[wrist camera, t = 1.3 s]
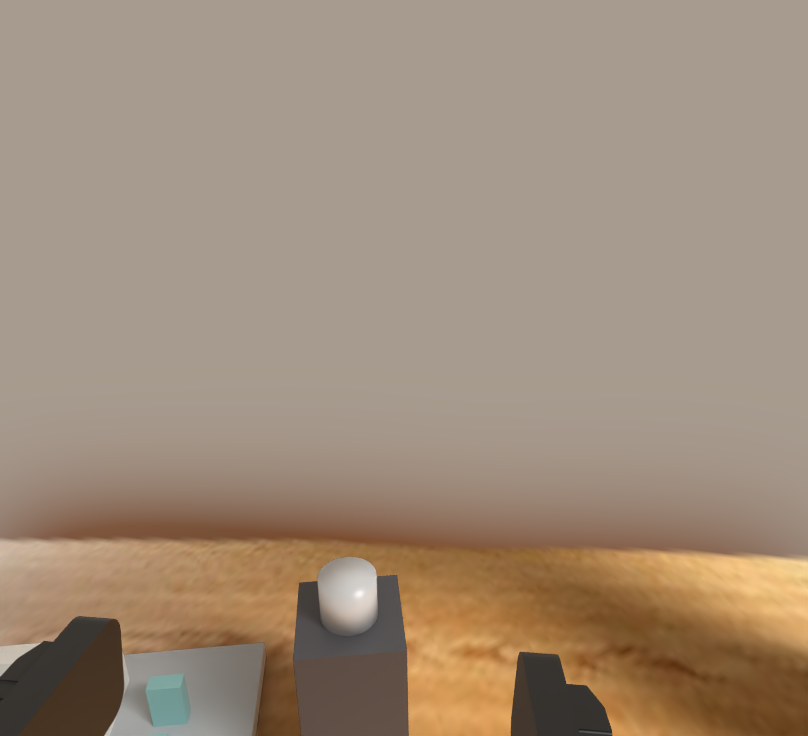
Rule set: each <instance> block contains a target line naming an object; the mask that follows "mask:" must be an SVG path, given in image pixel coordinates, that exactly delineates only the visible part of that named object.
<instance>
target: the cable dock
mask: <svg viewBox="0 0 808 736" xmlns="http://www.w3.org/2000/svg"><path fill="white" fill-rule="evenodd" d="M39 644H40V643H33V644H22V645H10V646H0V676H1V675H2V674H3V673H4V672H5V671H6V670H7V669H8V668H9V667H10V666H11V665H12V663H13V662H14V661H15V660H16V659H17V658H19V657H20V656H22V655H23V654H25V653H26V652H28V651H30V650H31V649H33V648H34V647H36V646H37V645H39ZM122 657H123V671H124V693H123V698H122V702H121V706H120V709H119V711H118V713H117V716H116V718H115V719H114V721H113V723H112V724H111V726H110V727H109V729H108V731H107V732H106V734H105V735H104V736H256V731H257V723H258V715H259V707H260V700H261V692H262V684H263V676H264V668H265V660H266V651H265V644H264V642H263V643H251V644H240V645H228V646H217V647H206V648H194V649H183V650H172V651H160V652H149V653H137V654H126V655H123V650H122Z"/></svg>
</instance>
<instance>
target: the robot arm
mask: <svg viewBox="0 0 808 736" xmlns="http://www.w3.org/2000/svg"><path fill="white" fill-rule="evenodd" d="M123 693H124V671H123V657H122V643H121V630H120V624H119V622H118V621H117V620H116V619H108V618H95V617H83V616H78V617H76V618H74V619H73V620H72V621H71V622H70V623H69V624H68V626H67V627H66V628H65V629H64V630H63V631H62V632H61V634H60V635H59V636H58V637H57V638H56V639H55V640H54V642H49V641H44V642H42V643H40V644H39V645H37V646H36V647H34V648H33V649H31V650H30V651H28V652H26V653H25V654H23V655H22V656H20V657H19V658H17V659H16V660H15V661H14V662H13V663H12V665H11V666H10V667H9V668H8V669H7V670H6V671H5V672H4V673H3V674H2V675H1V676H0V736H104V735H105V734H106V732H107V731H108V729H109V727H110V726H111V724H112V723H113V721H114V719H115V718H116V716H117V713H118V711H119V709H120V706H121V702H122V698H123ZM511 736H612V729H611V726H610V723H609V720H608V717H607V714H606V711H605V708H604V706H603V705H602V704H601V703H600V701H599V700H598V699H597V698H596V697H595V695H594V694H593V693H592V692H591V691H590V689H589V688H588V687H587V686H585V685H572V684H566V681H565V677H564V673H563V669H562V665H561V662H560V658H559V656H558V655H555V654H542V653H529V652H520V653H519V656H518V662H517V671H516V680H515V689H514V698H513V707H512V717H511Z"/></svg>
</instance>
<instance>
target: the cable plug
mask: <svg viewBox="0 0 808 736" xmlns="http://www.w3.org/2000/svg"><path fill="white" fill-rule="evenodd" d="M293 664H294V673H295V682H296V692H297V701H298V710H299V719H300V729H301V736H409V732H408V681H407V647H406V640H405V632H404V625H403V617H402V609H401V602H400V594H399V587H398V579H397V575H390V576H378V577H376V570H375V568H374V566H373V565H372V564H371V563H370V562H368V561H366V560H364V559H361V558H358V557H342V558H338V559H335V560H332V561H330V562H328V563H327V564H326V565H324V566H323V567H322V568H321V570H320V571H319V573H318V577H317V581H315V582H303V583H299V592H298V605H297V618H296V630H295V643H294V656H293Z"/></svg>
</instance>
